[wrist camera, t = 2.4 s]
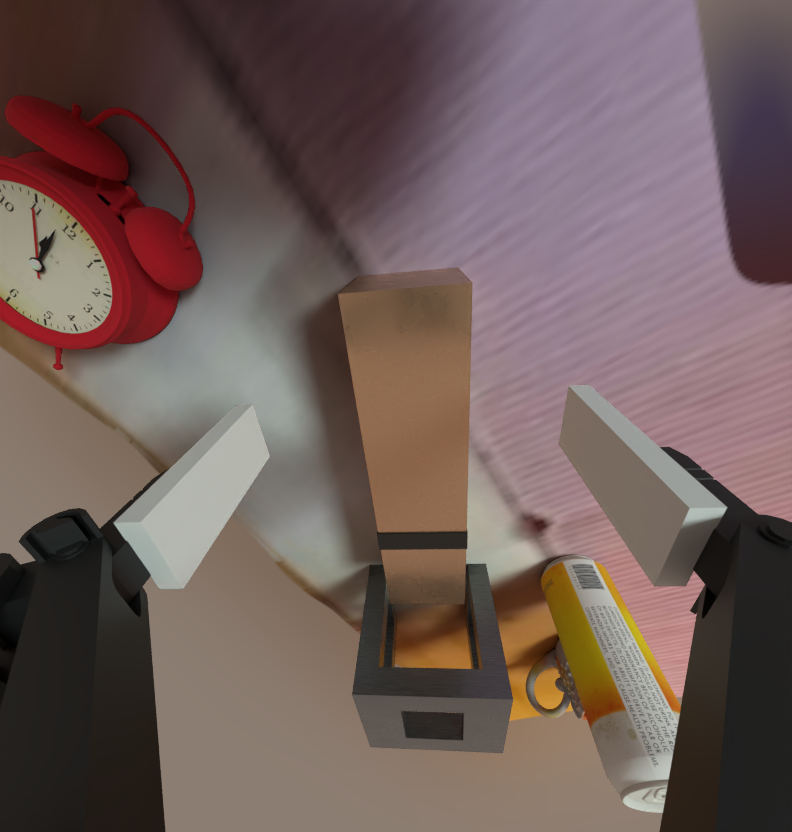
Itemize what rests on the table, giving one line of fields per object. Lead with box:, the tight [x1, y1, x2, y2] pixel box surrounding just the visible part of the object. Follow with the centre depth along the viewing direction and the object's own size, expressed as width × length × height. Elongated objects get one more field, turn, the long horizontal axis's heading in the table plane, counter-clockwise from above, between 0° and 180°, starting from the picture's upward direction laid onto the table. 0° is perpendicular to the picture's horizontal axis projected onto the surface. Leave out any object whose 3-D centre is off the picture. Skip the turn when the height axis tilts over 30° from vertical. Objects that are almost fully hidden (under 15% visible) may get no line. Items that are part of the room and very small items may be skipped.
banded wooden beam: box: [338, 267, 472, 604], centre depth 23 cm, size 24×6×6 cm, turn 5°
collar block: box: [352, 564, 513, 753], centre depth 31 cm, size 10×12×11 cm
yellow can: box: [541, 555, 681, 813], centre depth 26 cm, size 6×6×15 cm
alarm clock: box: [0, 95, 203, 370], centre depth 18 cm, size 10×6×15 cm
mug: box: [526, 639, 587, 720], centre depth 37 cm, size 12×7×7 cm, turn 129°
